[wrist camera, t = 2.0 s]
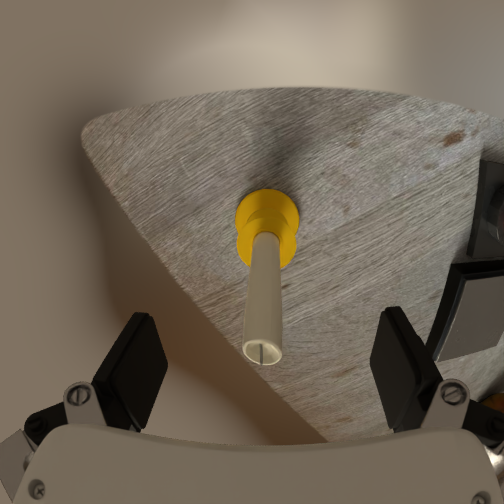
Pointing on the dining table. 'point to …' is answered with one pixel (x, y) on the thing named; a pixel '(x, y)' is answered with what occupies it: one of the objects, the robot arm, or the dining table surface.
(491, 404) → the fruit
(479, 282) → the scale
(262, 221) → the candle
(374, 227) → the dining table surface
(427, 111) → the dining table surface
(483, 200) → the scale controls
